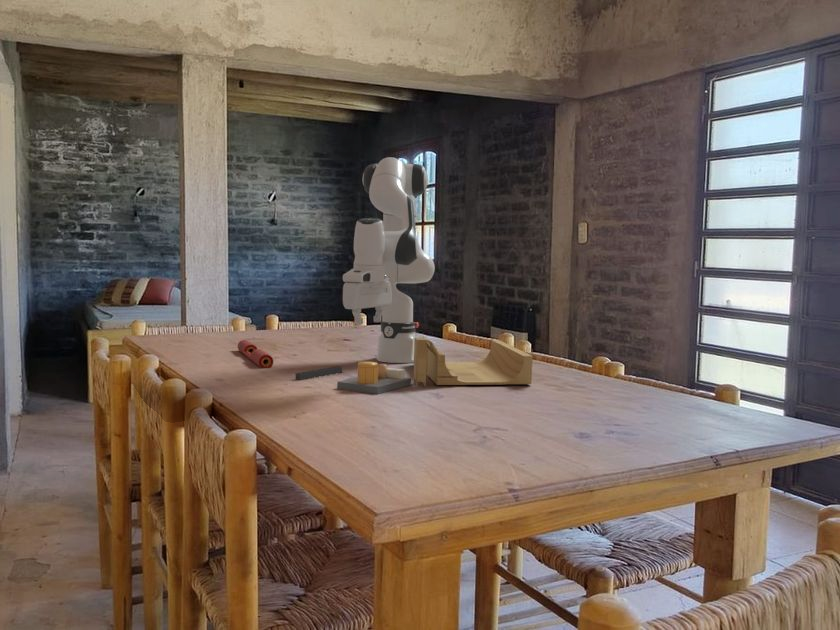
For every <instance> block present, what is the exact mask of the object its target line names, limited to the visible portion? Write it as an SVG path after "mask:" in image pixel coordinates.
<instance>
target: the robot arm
mask: <svg viewBox="0 0 840 630" xmlns="http://www.w3.org/2000/svg"><path fill="white" fill-rule="evenodd" d="M426 169H427V168H425V166H424V165H422V164H418V163H414V164H412V163H405V162H402V161H401V160H400V159H398V158H396V157H394V156H393V157H391V156H390V157H389V156H388V157H384V158H382V159H381V160H379V162H378V163H372V164H369V165H367V166H366V167H365V168H364V171H363V174H362V178H361V179H362V185H363V188H364V191H365V192H366V193H367V194H369V195H368V197H369V200H370V202H371V204H372V206H373V207H374V208H376V209H377V210H378V211H380V212H381V213H383V215H382V219H380V218H376V217H365V218H360V219H358V220H357V221H356V224H355V228H354V237H353V254H354V261H353V268H351V269H350V270H348V271H346V273H343V274H342V281H343V282H344V284H343V286H342V305H343V307H344V309H346V310H351V313H352V315H353V317H354V324H355V326H361V325H363V323H364V318H362V315H361V313H362V309H370V308H372V309H373V308H375V315H373V322H374V323H380V331H381V334H380V335H379V336H378V340H377V349H376V350H377V351H376V355H374V359H375V360H377V361H378V362H381V363H392V364H407V363H408V364H409V363H410V364H411V363H412V364H414V340H415V333H416V332H417V331H416V329H418V328H419V322H418V321H417V322H415V321H414V301H413V299H412V298H411V297H410V296H409V295H407V294H405V293H404V292H402V291H401V290H399V289H398V288H397V284H421V283H427V282H429V281H431V280H432V278H433V276H434V273H435V271H436V269H435V267H436V266H435V262H434V260H433V259H432V257H431V256H430V255H429V254H427V253H426V252H425V251H424V250H423V248H422V247H421V246H420V243H419V241H418V238H417V229H416V228H417V227H416V216H415V211H416V210H415V199H417V198H418V197H419V196H421V195H422V194H424V193H425V191H426V189H427V187H428V183H429V176H428V172H427V170H426ZM420 337H421V336H420V335H419V334H417V338H420Z"/></svg>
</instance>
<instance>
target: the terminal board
mask: <svg viewBox="0 0 840 630" xmlns="http://www.w3.org/2000/svg"><path fill="white" fill-rule="evenodd" d="M408 385H409V386H411V385H412V378H411V377H406V370H405V369H403V368H402V369H401V368H394V367H388V365H387V364H386V363H380V364H378V382H377V383H373V384H363V383H358V382H357V376H356V377H352V378H346V379H343V380H340V381H337V385H336V387H337V388H336V389H338V390H343V391H344V390H345V391H351V392H352V391H353V392H358V393H367V394H373V395H374V394H375V395H379V394H384V393H387V392H390V391H395V390H397V389H398V390H399V389H401V387H402V388H406V387H408Z"/></svg>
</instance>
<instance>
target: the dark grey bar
mask: <svg viewBox="0 0 840 630" xmlns="http://www.w3.org/2000/svg"><path fill="white" fill-rule="evenodd" d="M336 373H338V374H342V373H343V366H332V367H331V366H330V367H326V368H320V369H315V370H308V371H303V372H296V373H295V380H296V381H304V380H310V379H314V377H316V378H320V377H319V376H321V377H326V376H325V375H327V376H331V375H330V374H332V375H337V374H336ZM309 378H310V379H309Z"/></svg>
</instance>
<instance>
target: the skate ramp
mask: <svg viewBox="0 0 840 630" xmlns="http://www.w3.org/2000/svg"><path fill="white" fill-rule="evenodd" d="M417 335H418V332H415V340H414V363H413V384H414V383H415V384H416V385H415V386H416V388H418V382H419V383H420V382H421V384H422V383H423V386H424V388H425V387H426V386H427V383H426V381H427V376H428V378H430V379H431V381H433V382H434V384H435V385H437V386H466V385H467V386H468V385H469V386H470V385H471V386H472V385H473V386H474V385H477V386H478V385H479V386H482V385H483V386H484V385H485V386H486V385H489V386H490V385H497V386H498V385H499V386H500V385H532V382H533V381H532V376H533V360H534V359H533V358H534V355H533V353H534V351H533V349H531V348H530V347H527V346H525V345H523V347H522V344H521V343H518V342H516V346H517V347H516V346H514V345H512V344H509V343H510V341H511V340H510V338H508V337H505V336H503V335H501V336H499V339H491V346H490V349H489V352H488V354H487V355H486V356H485V357H484V358H482V359H481V360H478V361H459V362H458V361H446V355H445V353H443V352H442V351H441V350H440V349H438V348H437V346H436V345H435V344H434V343H433V342H432V341H431V340H429V339H428V338H427V336H424V337H423V334H420V336H419V337H420V338H417ZM493 335H494V336H495V335H496V333H495V334H492V336H493ZM503 340H504V341H503ZM507 340H508V341H507ZM507 342H508V343H507ZM518 344H519V345H518ZM525 348H526V349H528V352H527V351H526V349H525ZM525 351H526V352H525Z"/></svg>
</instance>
